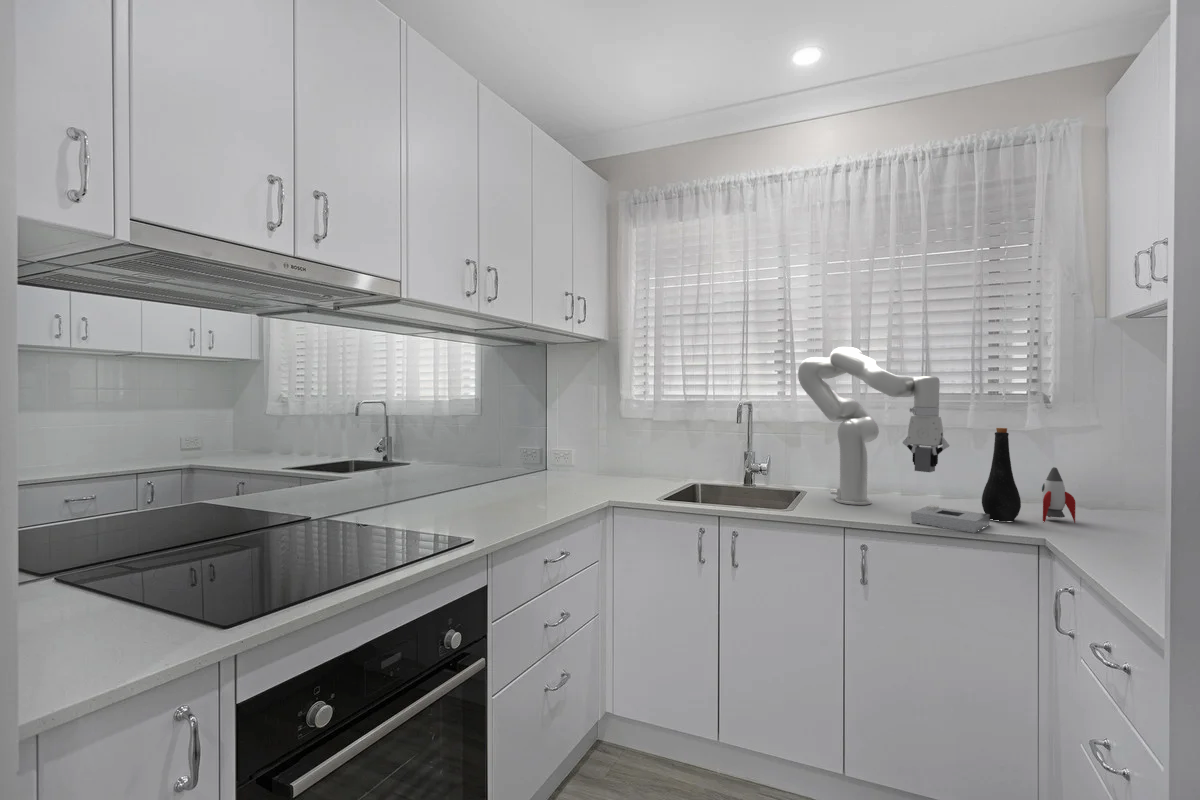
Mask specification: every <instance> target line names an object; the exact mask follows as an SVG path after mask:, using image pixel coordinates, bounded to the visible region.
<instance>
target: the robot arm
mask: <svg viewBox="0 0 1200 800" xmlns="http://www.w3.org/2000/svg"><path fill="white" fill-rule="evenodd" d="M797 370H798V371H797V377H798V382H799V384H800V386H801V388H802V389H803V391H804V392H805V393H806V394H807V395H808V397H809V398H811V400H812V401H813V402H814V404H815V405H816V406H817V407H818V409H819V410H820V411H821V412H822V413H823V414H824V416H825V417H826V418H827V419H828V420H829V421H831V422H837V423H839V422H841V423H840V424H839V426H838V428H837V439H838V445H839V488H830V490H829V491H830V495H836V497H835V498H834V499H835V500H834V501H836V502H837V503H840V504H843V505H851V506H852V505H853V506H854V505H855V506H865V505H866V506H867V505H870V504H872V503H873V502H872V499H871V498H868V451H867V447H866V443H870V442H874V440H876V439H877V438H878V435H879V432H880V430H879V425H878V423H877V422H876V421H875V419H874V418H873V417H872V416H871V415H870V413H869V412H868V411H867V410H866V409H865V408H864V407H863V405H862V404H860V403H859V401H857V400H856V399H854V398H853V397H848V396H840V395H839V394H838V393H837V392H836V391H835V390H834V388H833V387H831V386H830V385H829V384H828V382H826V381H825V380H826V379H833V378H836V377H839V376H841V375H845V374H849V375H851V376H853V377H855V378H857V379H859V380H861V381H863V382H864V383H865V384H866V385H867V386H869V387H871V388H872V389H874V390H875V391H877V392H880V393H882V394H885V395H887V396H889V397H891V398H909V397H910V398H911V397H914V398H913V407H912V408H909V412H910V413H912V415H910V419H909V422H908V428H907V429H908V430H907V437H905V438H904V439H903V441H902V444H903V445H904V446H905V447H907V449H908V450H909V451H910V453H912V463H913V465H914V466H915V447H931V449H932V452H933V453H932V455H931V467H934V466H935V467H937V465H939V455H940V453H942V452H943V451H945V450H947V448H949V447H950V444H949V443H948V442H947V440H946V439H945V437H944V431H943V430H944V429H943V421H942V417H941V416H940V414H939V413H940V387H941V386H940V378H939V377H938V376H928V375H925V376H921V375H920V376H913V375H912V376H911V375H897V374H894V373H892V372H889V371H887V370H885V369H883V368H881V367H879V366H878V362H877V361H876V359H873V358H871V357H870V356H867V355H864V353H863V352H862V351H861V350H860V349H858V348H856V347H849V346H839V347H837V348H835V349H833V350H832V351H831V352H830V355H829V356H828V357H820V356H819V357H818V356H814V357H807V358H806V359H804V360H802V361H801V363H800V364H799V367H798V369H797ZM823 379H824V380H823ZM939 446H940V447H939Z"/></svg>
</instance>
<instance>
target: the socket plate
mask: <svg viewBox="0 0 1200 800" xmlns="http://www.w3.org/2000/svg"><path fill="white" fill-rule="evenodd" d="M910 516H911V517H910V523H911V522H912V523H911V524H916V523H920V524H919V525H922V524H927V525H926V526H928V525H932V526H931V527H935V526H938V527H937V528H941V527H944V528H943V529H947V528H949V529H948V530H953V529H955V530H954V531H960V530H961V531H960V532H966V531H967V533H972V534H973V533H974V534H976V533H978V532H979V531H978V530H980V529H982V528H983V527H986V526H987V525H989V524H990V522H991V520H990V514H985V513H982V512H974V511H968V510H960V509H952V508H945V507H940V506H939V505H936V504H928V505H926V506H923V507H921V508H918V509H915V510H913V511H911V513H910ZM990 525H991V524H990ZM986 528H987V527H986ZM982 530H983V529H982ZM977 531H978V532H977ZM980 531H981V530H980Z"/></svg>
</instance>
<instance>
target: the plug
mask: <svg viewBox="0 0 1200 800" xmlns="http://www.w3.org/2000/svg"><path fill="white" fill-rule="evenodd" d="M932 453H933V452H932V449H931V446H919V447H915V465H914V472H921V473H922V472H923V473H933V472H935V471H936V466H934V467H931V455H932Z"/></svg>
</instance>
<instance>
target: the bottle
mask: <svg viewBox="0 0 1200 800" xmlns="http://www.w3.org/2000/svg"><path fill="white" fill-rule="evenodd" d="M1009 435H1010V434H1009V432H1008V428H1007V427H996V432H994V445H993V455H992V461H991V468H990V470H989V471H990V472H989V475H988V477H987V481H986V483H985V486H984V489H983V491H982V495H981V506H982V509H983V512H984V514H990V519H993V520H999V521H1014V522H1015V519H1017V517H1018V516H1019V515H1020V511H1021V508H1022V503H1021V502H1022V501H1021V495H1020V492H1019V490H1018V487H1017V484H1016V481H1015V478H1014V475H1013V469H1012V462H1011V455H1010V444H1009V441H1010V439H1009Z"/></svg>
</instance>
